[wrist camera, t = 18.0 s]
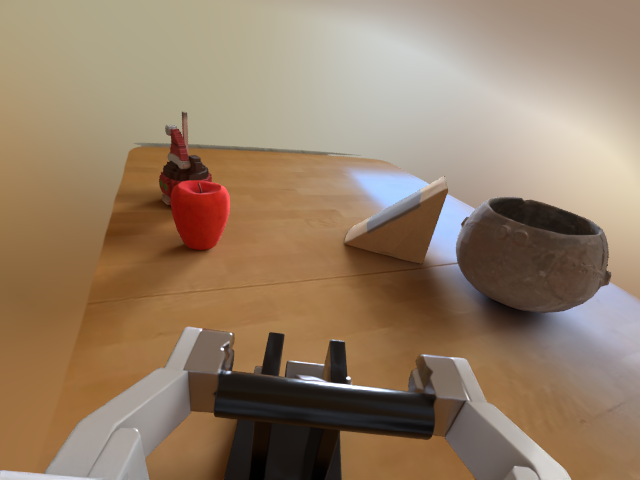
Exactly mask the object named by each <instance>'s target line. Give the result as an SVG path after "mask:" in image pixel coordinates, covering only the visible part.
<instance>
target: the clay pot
mask: <svg viewBox="0 0 640 480" xmlns="http://www.w3.org/2000/svg"><path fill="white" fill-rule="evenodd" d="M461 225H462V229H461V231H460V233H459V235H458V239H457V243H456V254H457V261H458V264H459V267H460V269H461V271H462V273H463V275H464V276H465V277H466V279H467V280H468V281H469V282H470V283H471V284H472V285H473V286H474V287H475V288H476V289H477V290H478V291H480V292H481V293H482V294H484V295H486V296H487V297H489V298H491V299H493V300H496V301H498V302H500V303H502V304H505V305H507V306H510V307H512V308H516V309H519V310H524V311H533V312H539V313H548V312H560V311H565V310H568V309H570V308H573V307H575V306H578V305H580V304H583V303H584V302H586V301H587V300H589V299H590V298H592V297H593V296H594V294H595V293H596V292H597V291H598V290H599V288H600V287H601V286H605V285H608V284H609V281H610V278H611V272H609V271H606V268H607V266H608V264H607V263H608V258H609V257H608V255H609V254H608V253H609V252H608V244H607V239H606V236H605V234H604V232H603V230H602V229H601V228H600V227H599V226H597V225H596V224H595V223H593V222H591V221H590V220H588V219H586V218H583V217H580V216H578V215H576V214H573V213H571V212H568V211H565V210H562V209H559V208H557V207H554V206H551V205H548V204H545V203H542V202H538V201H534V200H525V201H524V200H523V199H522V198H516V197H497V198H492V199H490V200H487V201H485V202H484V203H483V204H481V205H480V206H479V207H478V208H477V209H476V210H475V211H474V212H473V213H472V214H471V215H470V217H466V218H465V219H464V221H463V222H462V224H461Z"/></svg>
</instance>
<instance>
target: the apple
mask: <svg viewBox="0 0 640 480" xmlns="http://www.w3.org/2000/svg"><path fill="white" fill-rule="evenodd" d="M170 203H171V208H172V214H173V218H174V221H175V224H176V227H177V230H178V232H179V234H180V236H181V238H182V240H183V242H184V243H185V244H186V246H187V247H189V248H192V249H196V250H205V249H210V248H212V247H214V246H215V245H216V244H217V243H218V241H219V239H220V237H221V235H222V233H223V231H224V228H225V225H226V223H227V220H228V216H229V212H230V197H229V194H228V192H227V190H226V188H225V187H223V186H221V185H219V184H217V183H213V182H208V181H201V180H190V181H183V182H181V183H179V184H177V185H175V186H174V188H173V190H172V193H171V202H170Z"/></svg>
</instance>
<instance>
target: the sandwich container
mask: <svg viewBox="0 0 640 480" xmlns="http://www.w3.org/2000/svg"><path fill="white" fill-rule="evenodd" d="M447 193H448V188H447V184H446V180H445V176H443V177H442V178H440V179H438V180H436V181H435V182H433V183H431V184H429V185H427V186H426V187H424V188H422V189H420V190H419V191H417V192H415V193H413V194H412V195H410V196H408V197H406V198H404V199H403V200H401V201H399V202H397V203H395V204H393V205H392V206H390V207H388V208H386V209H384V210H383V211H381V212H379V213H377V214H375V215H374V216H372V217H370V218H368V219H366V220H364V221H363V222H361V223H359V224H357V225H355V226H353V227H351V228H350V230H349V232H348V234H347V235H346V238H345V241H344V244H346V245H350V246H353V247H357V248H361V249H364V250H368V251H372V252H376V253H380V254H384V255H388V256H392V257H395V258H399V259H403V260H407V261H411V262H415V263H420V264H423V261H424V258H425V255H426V253H427V250H428V247H429V244H430V241H431V238H432V235H433V233H434V230H435V227H436V224H437V221H438V218H439V215H440V213H441V210H442V207H443V204H444V201H445V198H446V195H447Z"/></svg>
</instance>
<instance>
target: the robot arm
mask: <svg viewBox="0 0 640 480" xmlns="http://www.w3.org/2000/svg"><path fill="white" fill-rule="evenodd" d="M233 344H234V333H231V332H224V331H217V330H210V329H201V328H193V327H186V328H185V329H184V330H183V332H182V334H181V336H180V338H179V340H178V342H177V343H176V345H175V347H174V349H173V351H172V353H171V355H170V357H169V359H168V361H167V363H166V365H165V367H164V368H158V369H156V370H155V371H153V372H152V373H150V374H149V375H147V376H146V377H144V378H143V379H141V380H140V381H138V382H137V383H135V384H134V385H132V386H131V387H130V388H128V389H127V390H125V391H124V392H122V393H121V394H119V395H118V396H116V397H115V398H113V399H112V400H110V401H109V402H107V403H106V404H104V405H103V406H101V407H100V408H98V409H97V410H96V411H94V412H93V413H91V414H90V415H88V416H87V417H85V418H84V419H82V420H81V421H79V422H78V424H77V425H76V427H75V428H74V430H73V431H72V433H71V434H70V435H69V437H68V438H67V440H66V441H65V443H64V444H63V446H62V447H61V449H60V450H59V452H58V453H57V455H56V456H55V458H54V459H53V461H52V462H51V463H50V465H49V466H48V468H47V469H46V471H45V472H44V474H37V473H26V472H15V471H3V470H0V480H149V476H148V471H147V466H146V461H145V458H146V457H147V456H148V455H149V454H150V453H151V452H152V451H153V450H154V449H155V448H156V447H157V446H158V445H159V444H160V443H161V442H162V441H163V440H164V439H165V438H166V437H167V436H168V435H169V434H170V433H171V432H172V431H173V430H174V429H175V428H176V427H177V426H178V425H179V424H180V423H181V422H182V421H183V420H184V419H185V418H186V417H187V416H188V415H189V414H190V413H191V411H196V412H210V413H214V402H215V396H216V392H217V387H218V384H219V380H220V377H221V375H222V373H223V371H225V370H229V371H232V367H233V361H234V350H233V349H232V348H233ZM416 365H417V368H415V369H414V370H412V371H411V374H410V377H409V385H408V387H409V392H418V393H426V394H427V395H429V396H430V398H431V400H432V403H433V406H434V411H435V428H434V433H433V435H435V436H442V437H445V439H446V440H447V442H448V443H449V444H450V446H451V447H452V448H453V450H454V451H455V452H456V453H457V455H458V456H459V457H460V459H461V460H462V461H463V463H464V464H465V465H466V467H467V468H468V469H469V471H470V472H471V473H472V475H473V476H474V477H475V478H476V480H571V478H570V477H569V475H568V473H567V471H566V470H565V469H564V468H563V467H562V466H561V465H560V464H558V463H557V462H556V461H555V460H554V459H553V458H552V457H551V456H550V455H548V454H547V453H546V452H545V451H544V450H543V449H542V448H541V447H540V446H538V445H537V444H536V443H535V442H534V441H533V440H532V439H531V438H530V437H528V436H527V435H526V434H525V433H524V432H523V431H522V430H521V429H520V428H518V427H517V426H516V425H515V424H514V423H513V422H512V421H511V420H510V419H508V418H507V417H506V416H505V415H504V414H503V413H502V412H501V411H500V410H498V409H497V408H496V407H495V406H494V405H493V404H491V403H487V401H486V399H485V397H484V395H483V393H482V390H481V388H480V386H479V384H478V382H477V380H476V378H475V376H474V374H473V371H472V369H471V367H470V365H469V363H468V361H467V360H466V359H463V358H453V357H445V356H435V355H425V354H420V355H419V356H418V357H417V359H416Z"/></svg>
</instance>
